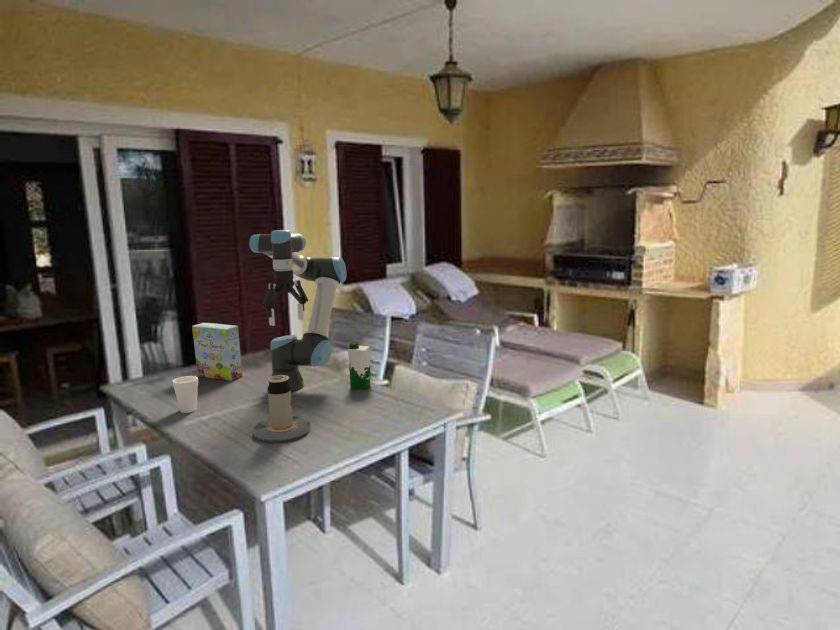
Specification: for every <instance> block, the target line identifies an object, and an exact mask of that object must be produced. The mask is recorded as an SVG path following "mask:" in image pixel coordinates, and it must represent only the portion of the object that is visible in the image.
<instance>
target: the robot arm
mask: <svg viewBox="0 0 840 630" xmlns="http://www.w3.org/2000/svg"><path fill="white" fill-rule="evenodd" d="M306 240H307V239H305V237H304V236H303V234H301V233H291V231H290V230H288V229H280V230H279V229H277V230H272V231H271V233H268V234H267V233H266V234H265V233H259V234H253V235H251V236H250V238H249V242H248V243H249V244H248V245H249V248H250V250H251V251H252V252H253V253H254V254H255V253H258V254H261V253H262V254H264V255H266V256H268V257H269V258H271V259H272V268H273V270H274V271H273V279H274V283H267V290H266V292H265V296H264V298H263V301H262V303H261V308H262V309H265V310H266V317H267V318H268V323H269V326H272V327H275V326H276V321H275V319H276V318H275V308H273V307H274V306H275V304H276V302H277V301H278V299H279V298H280V296H281V295H284V294H291V296H292V297H293V298H294V299H295V300H296V301H297V302H298V303H297V304H296V305H297V318H298V320H299V321H304V320H305V317H304V312H305V311H306V310H305V304H307V302H309V299H308V297H307V295H306V292H305V290H304V289H303V287H302V284H301V280H299V279H294V276H296V277H298V278H301V279H303V280H305V281H308V282H314V283H315V285H316V290H315V295H314V299H313V304H312V309H311V313H310V318H309V322H308V327H307V331H305V332H304V333H303V334H302V338H301V339H298V337H297V335H295V334H288V335H283V336H279V337H275V338H273V339H272V340H271V341H270V349H269V351H270V357H271V367H272V368H271V369H272V370H271V371H272V372H271V376H270V377H272V376H276V375H286V376H288V377H289V379H288V383H289V384H290V387H291V392H293V391H297V390H300V389H301V388H303V387H304V386H305V385H304V384H305V383H304V378H303V377H302V374H301V372H300V368H299V366H302V367H303V366H304V367H315V368H316V367H324V366H325V365H327V364H328V363H329V361H330V359H331V356H332V353H333V351H332V350H333V347H332V343H331V341H330V339H329V337H328V336H327V333H328V328H329V324H330V319H331V314H332V310H333V309H332V308H333V304H334V299H335V294H336V290H337V289H339V288H340V285H341V283H344V282H346V280H347V268H346V263H345V261H344V259H343V258H342V257H337V256H336V257H335V256H331V257H329V256H326V257H325V256H317V257H316V256H315V257H314V256H310V257H309V256H304V255H303V254H302V255H301V254H297V253H299V252H301V251H303V250H304V249H305V248H306V245H307V242H306ZM294 287H295V288H294Z"/></svg>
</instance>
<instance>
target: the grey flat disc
mask: <svg viewBox="0 0 840 630" xmlns="http://www.w3.org/2000/svg"><path fill="white" fill-rule="evenodd" d="M252 431H253V438H255V440H257V441H259V442H262V443H268V444H281V443H287V442H292V441H295V440H299V439H301V438H303V437H305V436H306V435H308V434H309V433H310V431H311V423H310V420H308V419H306V418H305V417H300V416H295V415H293V425H292V426H290V427H288V428H285V429H274V428H272V427H271V425H270V418H268V419H264V420H263V421H260V422H259V423H257V424H256V425H255V426H254V427H253V430H252Z"/></svg>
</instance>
